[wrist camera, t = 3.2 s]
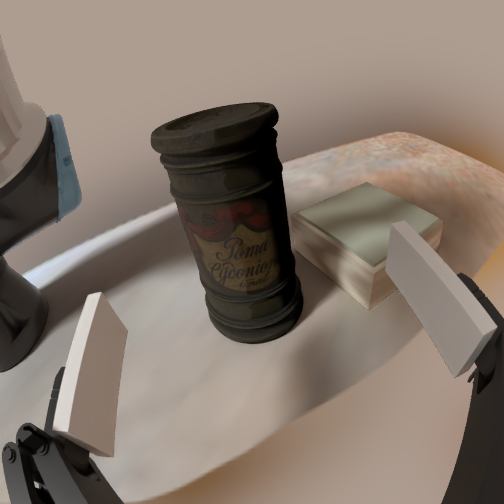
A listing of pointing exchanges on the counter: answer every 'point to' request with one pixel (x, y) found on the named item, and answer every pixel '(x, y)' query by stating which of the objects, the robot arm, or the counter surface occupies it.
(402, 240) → the robot arm
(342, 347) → the counter surface
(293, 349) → the counter surface
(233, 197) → the container
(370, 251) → the stand
